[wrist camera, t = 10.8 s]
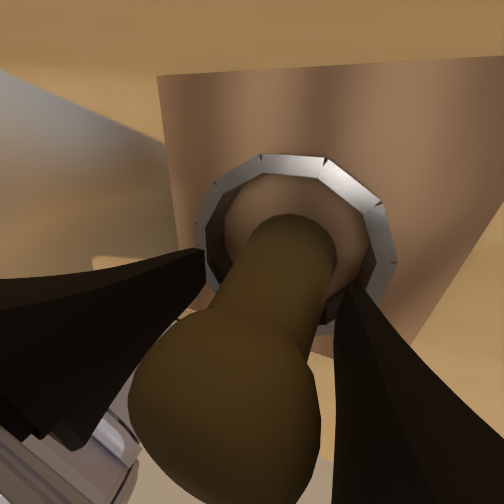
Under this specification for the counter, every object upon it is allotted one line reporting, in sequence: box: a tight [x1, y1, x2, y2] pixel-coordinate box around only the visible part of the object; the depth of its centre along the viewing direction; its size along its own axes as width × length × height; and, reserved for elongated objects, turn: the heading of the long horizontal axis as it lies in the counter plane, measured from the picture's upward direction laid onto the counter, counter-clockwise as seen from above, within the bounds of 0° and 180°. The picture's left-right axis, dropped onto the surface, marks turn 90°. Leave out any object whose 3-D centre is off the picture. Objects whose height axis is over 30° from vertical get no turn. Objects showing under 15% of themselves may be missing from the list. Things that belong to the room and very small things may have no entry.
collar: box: [194, 153, 398, 336], centre depth 12 cm, size 11×11×2 cm
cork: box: [127, 213, 337, 504], centre depth 9 cm, size 6×6×11 cm
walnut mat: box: [157, 56, 504, 359], centre depth 13 cm, size 18×18×1 cm
